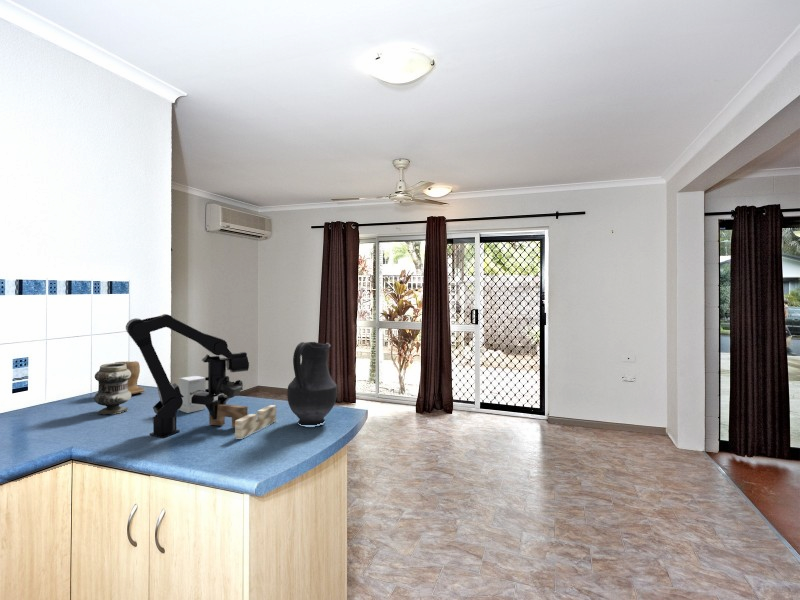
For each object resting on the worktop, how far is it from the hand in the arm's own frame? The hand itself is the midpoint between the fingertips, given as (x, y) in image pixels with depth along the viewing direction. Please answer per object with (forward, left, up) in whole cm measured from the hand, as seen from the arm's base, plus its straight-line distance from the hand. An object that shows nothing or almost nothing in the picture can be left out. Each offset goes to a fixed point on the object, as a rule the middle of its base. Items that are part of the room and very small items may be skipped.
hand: (217, 418), depth 159 cm
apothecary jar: (+1, +48, -3) cm, 48 cm away
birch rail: (0, -16, -2) cm, 16 cm away
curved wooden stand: (+22, +66, -3) cm, 70 cm away
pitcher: (+11, -30, -3) cm, 32 cm away
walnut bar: (0, -5, -2) cm, 5 cm away
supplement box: (+13, +22, -3) cm, 26 cm away
